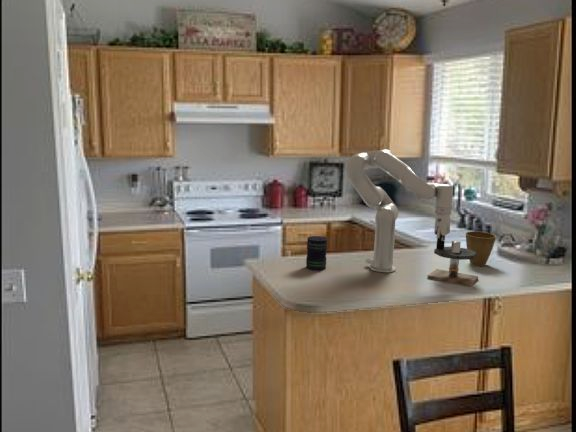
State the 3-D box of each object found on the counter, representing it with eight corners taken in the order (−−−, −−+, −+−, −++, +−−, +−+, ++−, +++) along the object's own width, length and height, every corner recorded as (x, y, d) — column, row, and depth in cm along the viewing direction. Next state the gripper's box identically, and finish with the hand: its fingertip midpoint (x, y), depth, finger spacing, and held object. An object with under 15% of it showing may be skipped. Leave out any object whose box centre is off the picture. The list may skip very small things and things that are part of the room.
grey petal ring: (430, 255, 261) (430, 251, 261) (441, 248, 276) (442, 244, 276) (469, 261, 252) (470, 258, 252) (479, 253, 267) (479, 250, 267)
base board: (427, 278, 266) (427, 275, 265) (436, 271, 277) (436, 268, 277) (470, 286, 255) (470, 283, 255) (478, 279, 267) (478, 276, 267)
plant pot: (457, 261, 300) (459, 231, 297) (480, 259, 304) (483, 231, 301) (474, 268, 286) (477, 238, 283) (498, 267, 290) (502, 237, 288)
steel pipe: (447, 276, 265) (450, 241, 262) (449, 273, 269) (452, 240, 266) (456, 277, 263) (459, 243, 260) (459, 275, 267) (462, 241, 264)
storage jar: (302, 266, 278) (303, 236, 275) (319, 264, 282) (320, 235, 280) (312, 271, 269) (313, 241, 267) (329, 269, 274) (331, 239, 271)
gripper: (446, 213, 256) (443, 252, 259) (455, 209, 269) (452, 247, 272) (430, 211, 260) (427, 250, 263) (439, 207, 273) (437, 244, 276)
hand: (440, 248), depth 268 cm, fingers closed
